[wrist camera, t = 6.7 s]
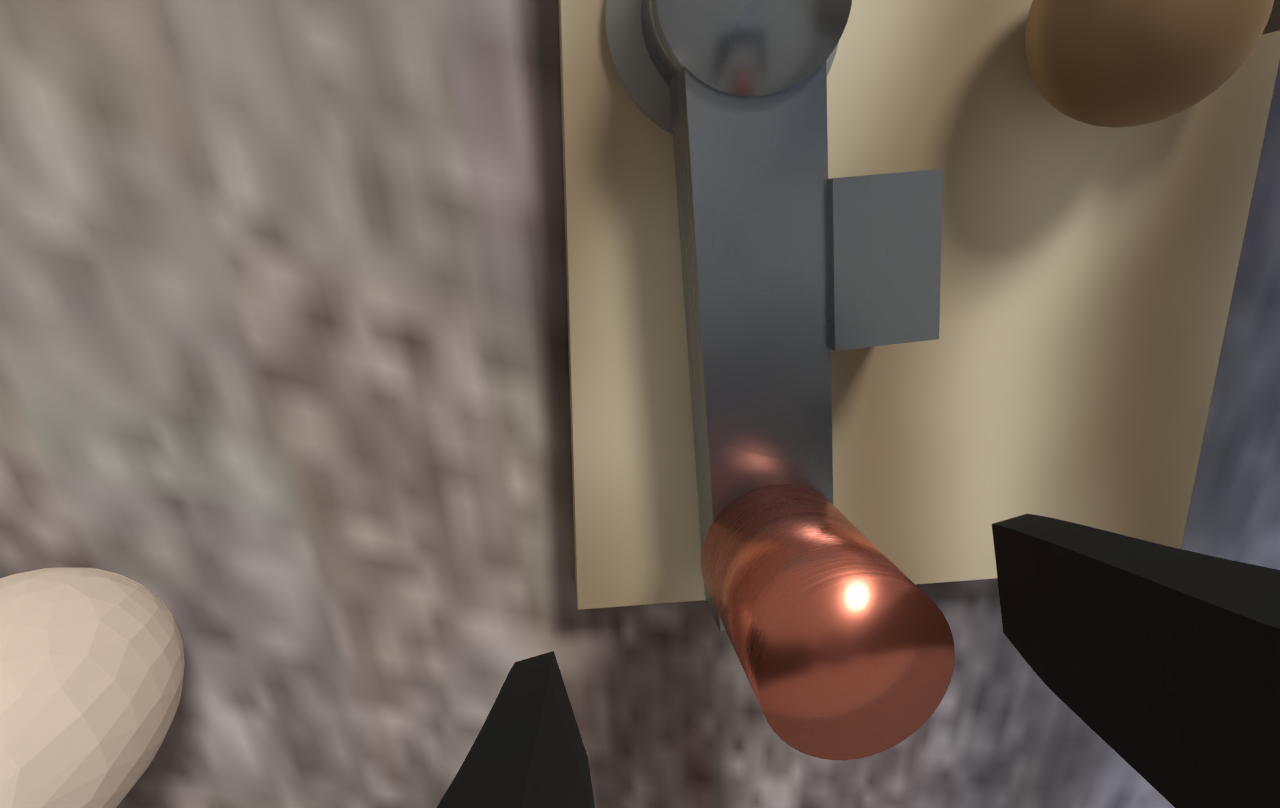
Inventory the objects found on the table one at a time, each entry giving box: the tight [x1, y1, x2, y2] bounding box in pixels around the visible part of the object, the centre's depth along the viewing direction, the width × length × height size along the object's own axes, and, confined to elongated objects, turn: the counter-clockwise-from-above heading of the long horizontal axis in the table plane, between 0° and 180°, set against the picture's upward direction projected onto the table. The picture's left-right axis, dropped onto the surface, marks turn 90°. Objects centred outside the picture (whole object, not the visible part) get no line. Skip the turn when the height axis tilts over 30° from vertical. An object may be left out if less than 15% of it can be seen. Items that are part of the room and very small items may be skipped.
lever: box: [641, 0, 955, 760], centre depth 12 cm, size 5×13×5 cm, turn 5°
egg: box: [0, 568, 185, 808], centre depth 12 cm, size 5×5×7 cm
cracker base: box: [558, 0, 1280, 610], centre depth 14 cm, size 15×15×5 cm
